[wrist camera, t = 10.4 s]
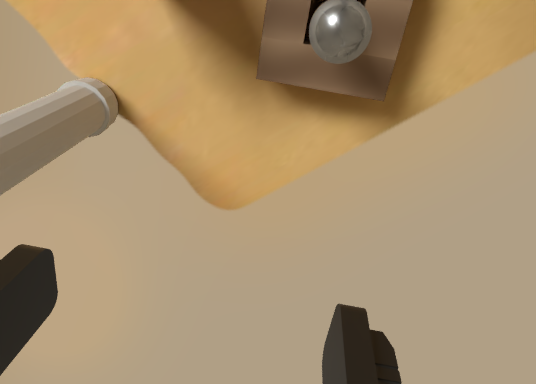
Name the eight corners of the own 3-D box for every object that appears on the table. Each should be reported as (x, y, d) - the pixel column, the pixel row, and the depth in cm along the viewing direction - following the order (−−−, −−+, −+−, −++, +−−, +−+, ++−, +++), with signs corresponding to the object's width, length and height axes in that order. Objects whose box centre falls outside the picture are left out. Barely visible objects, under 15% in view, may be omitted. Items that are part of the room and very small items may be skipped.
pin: (315, -11, 34) (315, -9, 24) (359, -3, 34) (379, 2, 24) (306, 36, 36) (303, 57, 25) (348, 43, 36) (362, 68, 25)
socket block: (280, -68, 33) (276, -74, 29) (414, -45, 32) (427, -48, 29) (261, 69, 38) (256, 78, 34) (377, 90, 38) (383, 101, 34)
